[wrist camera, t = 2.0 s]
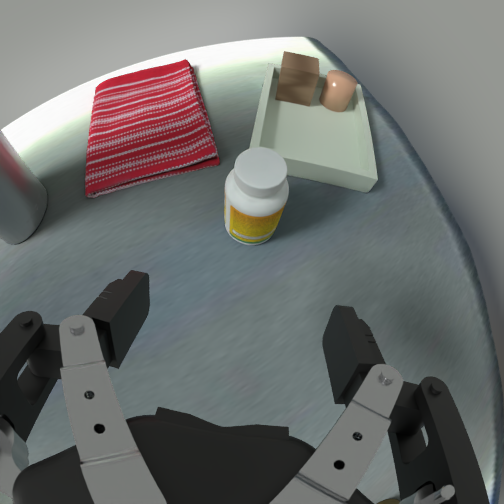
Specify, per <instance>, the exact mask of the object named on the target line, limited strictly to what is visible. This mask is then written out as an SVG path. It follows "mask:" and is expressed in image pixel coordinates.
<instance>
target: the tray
mask: <svg viewBox="0 0 504 504" xmlns="http://www.w3.org/2000/svg"><path fill="white" fill-rule="evenodd" d="M280 70H281V65H276V64H270V63H268V67H267V71H266V75H265V80H264V84H263V88H262V93H261V97H260V102H259V106H258V110H257V115H256V120H255V124H254V129H253V133H252V138H251V143H250V147H249V149H250V148H256V147H262V148H268V149H271V150H273V151H275V152H277V153H278V154H279V155H281V156H282V157H283V159H284V160H285V162H286V164H287V175H288V176H294V177H299V178H303V179H308V180H313V181H318V182H322V183H327V184H331V185H336V186H340V187H344V188H348V189H352V190H356V191H360V192H364V193H368V192H369V191H370V189H371V188H372V187H373V185H374V184H375V183H376V182H377V180H378V177H377V170H376V162H375V156H374V149H373V143H372V137H371V132H370V127H369V121H368V116H367V112H366V107H365V102H364V98H363V94H362V90H361V86H360V85H359V84H357V86H356V88H355V91H354V93H353V95H352V97H351V100H350V102H349V104H348V107H347V109H346V110H345V111H344V112H334V111H331V110H329V109H327V108H325V107H324V106H323V105H322V104H321V103H320V101H319V98H320V95H321V92H322V89H323V86H324V83H325V80H326V77H327V75H324V74H320V73H319V74H320V75H319V78H318V81H317V85H316V88H315V91H314V94H313V97H312V101H311V104H310V107H308V106H304V105H299V104H294V103H289V102H284V101H279V100H275V98H276V92H277V86H278V80H279V75H280Z"/></svg>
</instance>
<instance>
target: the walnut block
mask: <svg viewBox="0 0 504 504" xmlns="http://www.w3.org/2000/svg"><path fill="white" fill-rule="evenodd" d="M319 75H320V74H319V59H318V58H314V57H309V56H305V55H300V54H295V53H290V52H285V51H284V54H283V59H282V64H281V70H280V75H279V80H278V86H277V92H276V98H275V100H279V101H284V102H289V103H294V104H299V105H304V106H308V107H310V104H311V101H312V97H313V94H314V91H315V88H316V85H317V81H318V78H319Z"/></svg>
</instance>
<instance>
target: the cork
mask: <svg viewBox="0 0 504 504" xmlns="http://www.w3.org/2000/svg"><path fill="white" fill-rule="evenodd" d="M399 503H400V501H399V500H397V499H387V500H384V501H381V502H379V503H377V504H399Z"/></svg>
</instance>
